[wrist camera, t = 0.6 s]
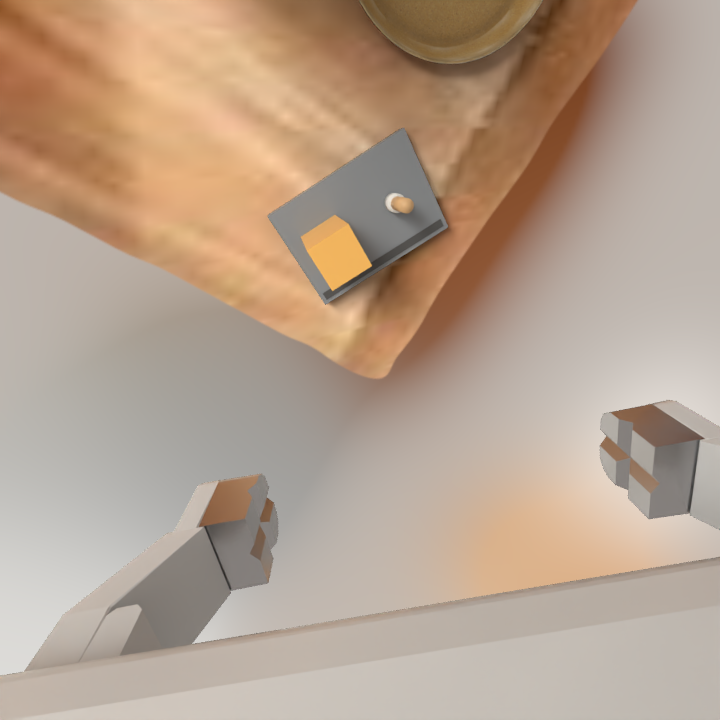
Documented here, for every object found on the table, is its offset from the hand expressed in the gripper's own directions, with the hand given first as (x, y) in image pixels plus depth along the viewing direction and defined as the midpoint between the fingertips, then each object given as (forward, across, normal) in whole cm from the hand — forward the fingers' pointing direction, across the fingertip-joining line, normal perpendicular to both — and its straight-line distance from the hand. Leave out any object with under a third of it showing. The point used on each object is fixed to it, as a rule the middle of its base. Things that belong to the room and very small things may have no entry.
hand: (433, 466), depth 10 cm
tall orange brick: (+45, +4, -2) cm, 46 cm away
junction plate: (+48, 0, -4) cm, 48 cm away
